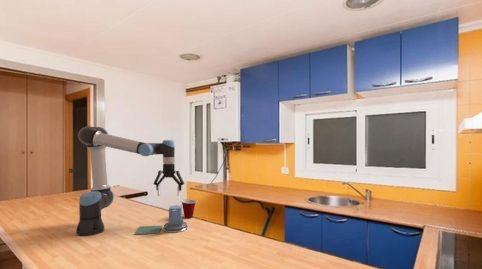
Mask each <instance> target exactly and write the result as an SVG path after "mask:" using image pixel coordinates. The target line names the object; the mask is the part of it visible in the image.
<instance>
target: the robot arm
mask: <svg viewBox="0 0 482 269" xmlns="http://www.w3.org/2000/svg"><path fill="white" fill-rule="evenodd" d="M77 137H78V140H79V142H81V143H82V144H83V145H86V149H88V150H89V156H90V164H91V168H90V169H91V177H92V179H91V180H92V187H91V188H90V191H87V192H85V193H82V194H80V196H79V201H78V203H79V206H78V207H79V221H78V224H77V226H76V230H75V234H76V235H77V236H81V237H83V236H84V237H86V236H87V237H89V236H94V235H97V234H100V233H103V232H104V231H105V225H104V222H103V219H102V210H104V209H106V208H108V207H109V206H110V205H112V203H114V202H113V201H114V200H115V195H114V192H113V191H112V190H111V186H110V185H109V184H108V174H107V163H106V154H105V153H106V152H105V150H106V149H107V148H111V149H115V150H119V151H120V150H121V151H123V152H128V153H133V154H137V155H140V156H142V157H149V156H153V155H155V156H156V155H162V163H163V164H162V170H161V169H160V170H158V171H157V175H156V178H155V180H154V182H153V185H155V187H156V191H157V196H161V183H162V182H163V181H164V179H165V178H167V179H168V178H169V179H171V178H172V180H174V181H175V183H176V184H177V197H179V196H181V191H182V186H183V185H185V182H184V180H183V178H182V176H181V173H180V172H181V171H180V170H175V168H176V167H175V166H176V164H175V162H176V159H175V158H176V157H175V152H176V151H175V148H176V146H175V141H174V140H173V139H167V140H166V139H164V140H163V141H162V142H160V143H159V142H156V143H155V142H147V143H146V142H143V141H137V140H133V139H129V138H125V137H120V136H116V135H111V134H109V133H108V131H107V130H106V129H105V128H103V127H100V126H91V125H89V126H84V127H82V128H80V130H79V131H78V136H77ZM162 174H163V175H162ZM161 175H162V176H161Z"/></svg>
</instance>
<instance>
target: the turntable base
mask: <svg viewBox="0 0 482 269" xmlns="http://www.w3.org/2000/svg"><path fill="white" fill-rule="evenodd" d="M162 227H163V228H162V231H163V232H164V233H168V234H170V233H171V234H177V233H182V232H185V231H186V230H188V229H189V228H188V225H187V227H186V228H184V229H182V230H177V231H169V230H165V229H164V226H162Z"/></svg>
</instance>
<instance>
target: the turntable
mask: <svg viewBox="0 0 482 269" xmlns="http://www.w3.org/2000/svg"><path fill="white" fill-rule="evenodd" d="M187 226H188V224H187V222H185V221H184V220H182V223H181V225H169V221H168V222H166V223H164V224H163V227H164V229H165V230H169V231H177V230H182V229H184V228H186V227H187Z"/></svg>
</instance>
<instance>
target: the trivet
mask: <svg viewBox="0 0 482 269" xmlns="http://www.w3.org/2000/svg"><path fill="white" fill-rule="evenodd" d="M162 227H163V225H141V226H139V227H138V228H137V229H136V231H134V233H133V236H139V235H140V236H142V235H144V236H145V235H159V234H160V232H161V230H162V229H163V228H162Z"/></svg>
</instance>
